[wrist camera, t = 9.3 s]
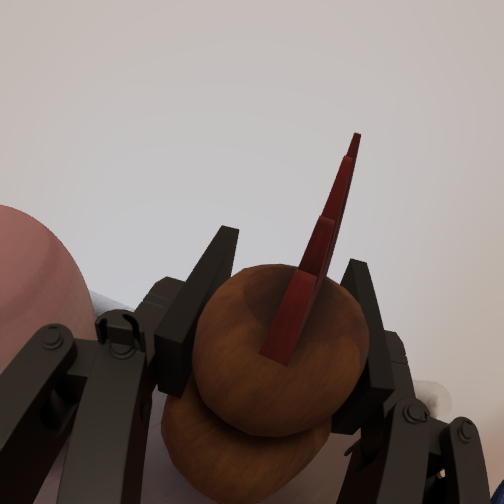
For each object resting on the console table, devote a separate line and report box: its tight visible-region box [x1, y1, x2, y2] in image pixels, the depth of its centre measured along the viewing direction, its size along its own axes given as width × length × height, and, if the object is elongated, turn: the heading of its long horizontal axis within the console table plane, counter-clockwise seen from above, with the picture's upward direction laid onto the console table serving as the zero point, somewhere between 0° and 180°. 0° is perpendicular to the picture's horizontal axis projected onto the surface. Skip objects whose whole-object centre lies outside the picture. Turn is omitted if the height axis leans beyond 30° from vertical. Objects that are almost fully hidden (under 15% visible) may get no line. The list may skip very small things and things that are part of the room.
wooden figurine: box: [161, 133, 369, 504], centre depth 9 cm, size 7×6×15 cm
